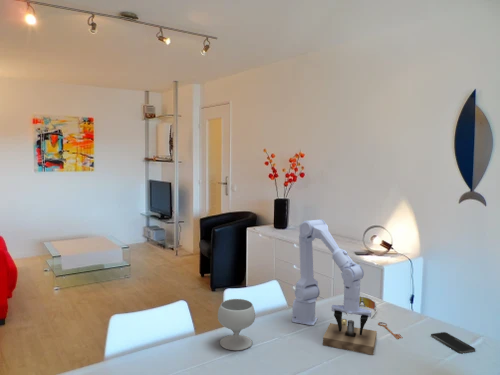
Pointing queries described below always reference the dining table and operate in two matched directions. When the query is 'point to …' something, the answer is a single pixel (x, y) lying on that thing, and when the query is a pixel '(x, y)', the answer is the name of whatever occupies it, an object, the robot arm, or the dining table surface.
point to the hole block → (350, 339)
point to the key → (390, 331)
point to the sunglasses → (368, 303)
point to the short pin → (344, 322)
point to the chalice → (236, 322)
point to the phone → (453, 342)
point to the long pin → (350, 328)
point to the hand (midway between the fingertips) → (350, 332)
